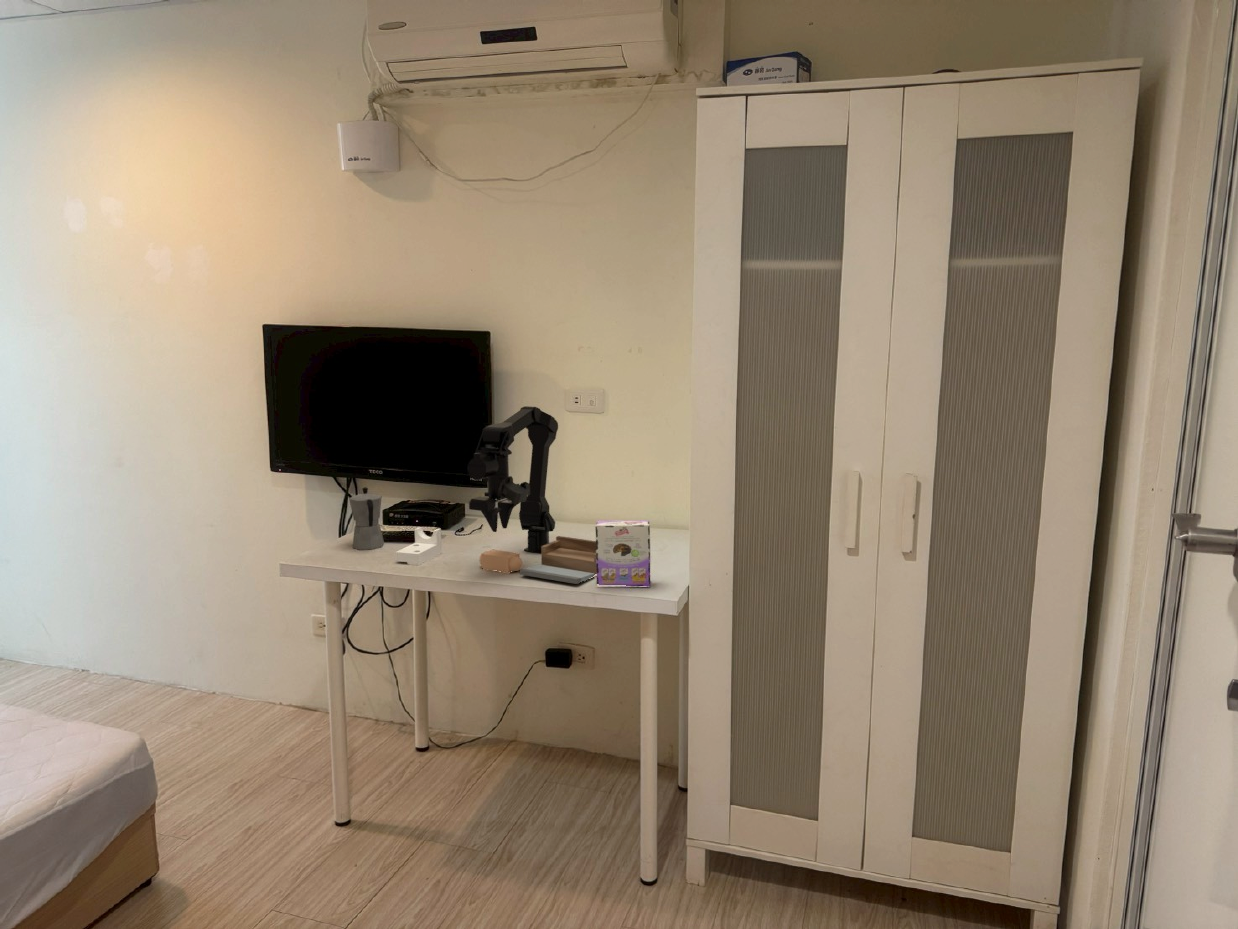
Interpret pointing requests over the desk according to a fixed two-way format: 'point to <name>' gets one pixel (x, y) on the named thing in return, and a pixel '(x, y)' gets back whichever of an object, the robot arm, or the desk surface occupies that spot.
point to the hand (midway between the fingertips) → (499, 530)
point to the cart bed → (570, 554)
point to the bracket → (421, 548)
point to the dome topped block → (500, 561)
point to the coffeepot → (366, 521)
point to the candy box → (623, 553)
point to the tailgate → (557, 573)
